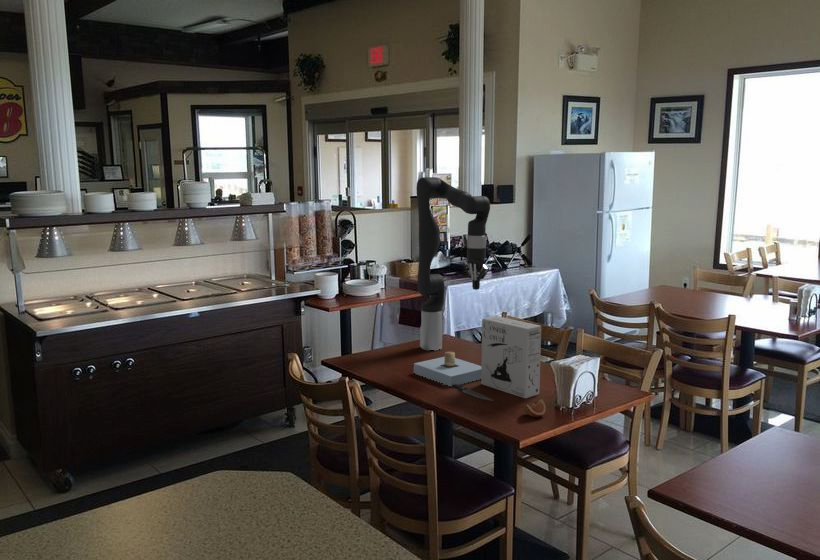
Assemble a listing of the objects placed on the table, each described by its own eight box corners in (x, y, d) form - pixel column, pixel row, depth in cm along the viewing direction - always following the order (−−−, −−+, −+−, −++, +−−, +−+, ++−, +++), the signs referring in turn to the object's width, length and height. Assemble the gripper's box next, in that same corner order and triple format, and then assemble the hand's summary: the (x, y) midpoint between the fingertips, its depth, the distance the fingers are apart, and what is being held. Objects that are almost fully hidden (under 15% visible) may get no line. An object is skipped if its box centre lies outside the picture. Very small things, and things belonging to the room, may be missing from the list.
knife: (486, 404, 237) (497, 401, 240) (486, 401, 237) (497, 398, 240) (440, 385, 258) (450, 382, 261) (440, 382, 258) (450, 380, 261)
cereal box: (480, 384, 258) (481, 318, 254) (494, 380, 263) (496, 315, 259) (525, 399, 241) (527, 328, 237) (539, 394, 246) (541, 325, 242)
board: (413, 373, 272) (413, 363, 271) (448, 365, 283) (448, 355, 282) (451, 387, 255) (451, 376, 254) (486, 378, 266) (486, 367, 265)
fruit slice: (532, 422, 220) (533, 406, 219) (516, 416, 225) (517, 401, 224) (549, 416, 225) (550, 401, 224) (533, 410, 230) (534, 396, 229)
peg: (442, 375, 269) (442, 352, 268) (450, 373, 271) (450, 351, 270) (449, 377, 266) (449, 355, 264) (457, 375, 268) (457, 353, 267)
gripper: (495, 247, 274) (494, 290, 277) (472, 244, 285) (471, 286, 287) (481, 248, 270) (480, 292, 272) (458, 245, 280) (457, 288, 283)
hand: (475, 289), depth 280 cm, fingers closed
